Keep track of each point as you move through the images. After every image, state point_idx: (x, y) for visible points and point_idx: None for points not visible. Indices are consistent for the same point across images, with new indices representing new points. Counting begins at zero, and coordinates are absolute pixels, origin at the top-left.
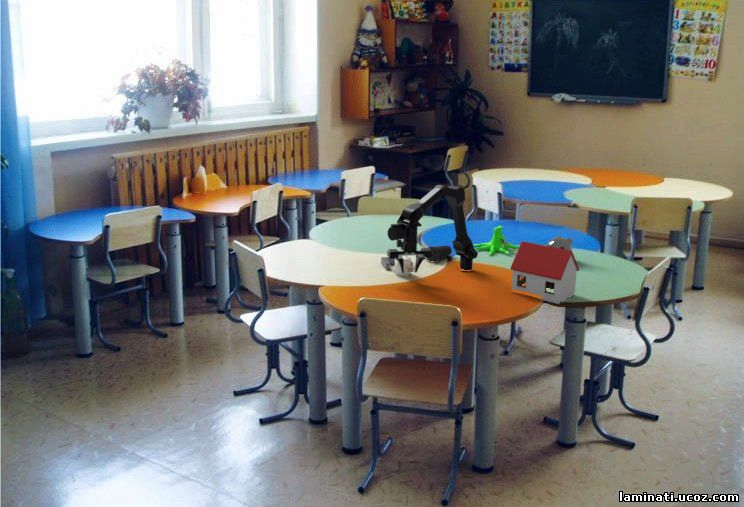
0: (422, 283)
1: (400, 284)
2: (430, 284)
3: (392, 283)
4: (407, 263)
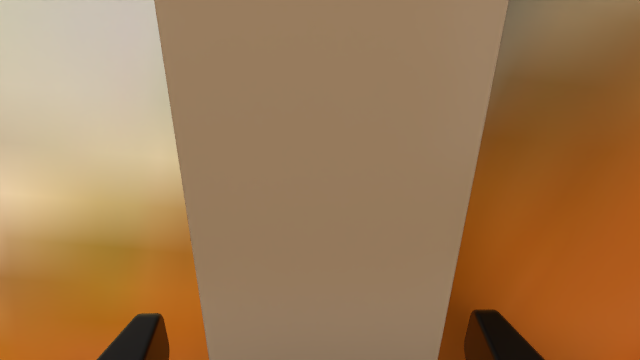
0: (508, 284)
1: (146, 292)
2: (601, 328)
3: (8, 241)
4: (341, 285)
